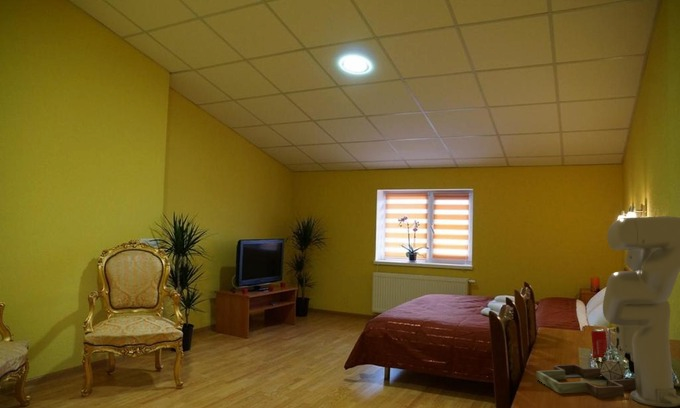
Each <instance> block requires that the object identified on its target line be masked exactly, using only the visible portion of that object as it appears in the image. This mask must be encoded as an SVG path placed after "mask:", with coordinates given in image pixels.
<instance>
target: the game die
mask: <svg viewBox="0 0 680 408" xmlns="http://www.w3.org/2000/svg"><path fill="white" fill-rule="evenodd" d="M602 361H603V362H601V363H602V364H600V365H599V366H600V368H601V369H600V372H598V373H597V374H599V373H600V374H601V375H602V376H604V377H603V378H604V379H605V381H608V380H620V379H626V376H625V373H626V370H629V367H624V366H623V365H622V364H620V362H621V361H620V360H615V357H614V356H613V357H612V359H608V360H603V359H602Z"/></svg>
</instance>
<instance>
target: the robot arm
mask: <svg viewBox="0 0 680 408" xmlns="http://www.w3.org/2000/svg"><path fill="white" fill-rule="evenodd" d="M606 235H607V236H606V238H607V244H608V246H609V248H610V250H614V251H626V254H625V265H626V266H627V268H628V269H629V270H623V271H622V270H619V271H615V272H613V273H611V274H610V275H609V277H608V279H607V281H606V282H607V283H606V287H605V293H604V296H603V302H602V313H603V318H605V320H606V321H607V322H608V323H609V324H612V325H615V328H614V344H615V348H616V350H617V351H616V355H618V356H621V357H625V359H626V360H627V363H628V370H629V372H630V373H632V374H634V379H635V383H636V389H634V390H631V392H630V398H631V399H632V400H634V401H635V402H638V403H640V404H644V405H647V406H652V407H660V408H661V407H662V408H673V407H679V406H680V395H677V390H676V388H674V379H673V367H672V356H671V345H670V344H671V343H670V320H671V305H670V302H669V301H668V300H669V298H670V297H671V295H672V293H673V290H674V287H675V284H676V282H677V280H678V279H677V278H678V275H679V274H680V217H677V216H665V215H664V216H646V217H645V216H643V217H642V216H640V217H623V218H620V219H618V220H617V219H616V221H614V222H613V223H611V224H610V225H609V228H608V230H607V234H606Z"/></svg>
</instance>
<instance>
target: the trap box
mask: <svg viewBox="0 0 680 408" xmlns="http://www.w3.org/2000/svg"><path fill="white" fill-rule="evenodd" d="M600 369H601V367H591V368H589V367H588V368H585V367H583V366H581V365H578V364H575V363H574V364H558V365H553V369H552V370H551V369H550V370H536V371H535V373H536V374H535V376H536V380H537V381H538V380H539V381H540V382H539V381H538V382H539V383H541V382H542V383H541V384H542V385H544V384H545V386H546V387H548V388H549V389H551V390H552V391H554V392H556V393H558V394H560V395H561V394H574V393H578V394H579V393H588V394H589V395H591V396H593V397H595V398H599V399H600V398H601V399H602V398H604V399H605V398H620V397H622V398H623V397H625V392H624V391H627V390H629V391H630V390H631V391H633V390H636V383H635V378H623V379H620V380H607V386H597V385H595V384H594V383H591V382H589V381H586V380H584V381H571V382H559V380H566V379H574V378H575V379H576V378H584V379H594V378H595V377H598V378H600V377H599V376H600V375H601V374H600V373H599V374H597V373H598V372H600ZM595 379H596V378H595Z"/></svg>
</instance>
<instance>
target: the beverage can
mask: <svg viewBox="0 0 680 408" xmlns="http://www.w3.org/2000/svg"><path fill="white" fill-rule="evenodd" d="M590 334H591V346H592V347H591V349H592V357H593V359H594V358H596V357H603V356H604V355H605V353H606V349H607V350H608V342H607V341H608V340H607V332H606V330H605V329H602V328H601V329H600V328H599V329H598V328H593V329H591V333H590Z"/></svg>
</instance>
